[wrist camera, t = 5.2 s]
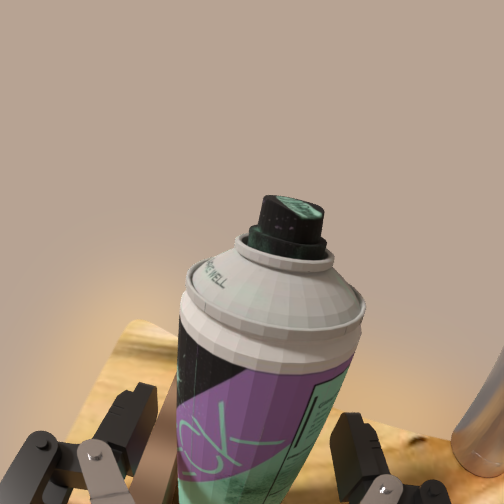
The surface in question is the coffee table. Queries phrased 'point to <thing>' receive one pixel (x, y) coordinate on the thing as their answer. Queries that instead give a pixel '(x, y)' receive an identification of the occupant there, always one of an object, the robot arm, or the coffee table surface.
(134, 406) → the robot arm
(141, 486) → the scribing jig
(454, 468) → the coffee table surface
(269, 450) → the spray can
